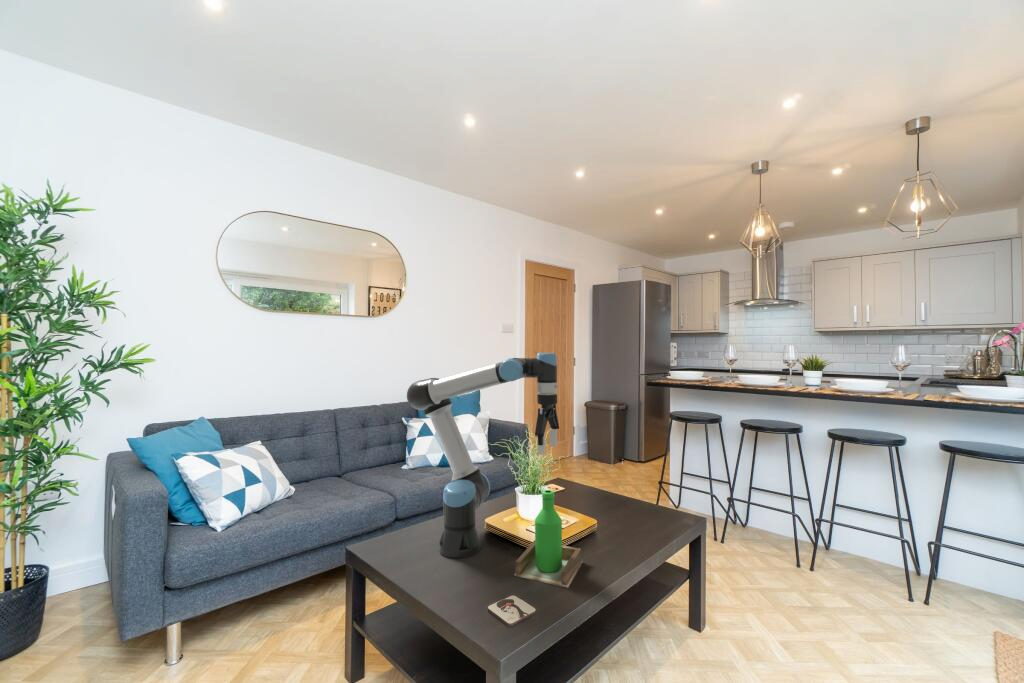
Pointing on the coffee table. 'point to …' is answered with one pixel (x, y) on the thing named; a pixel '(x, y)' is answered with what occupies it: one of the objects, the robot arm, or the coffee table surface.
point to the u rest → (560, 577)
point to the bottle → (548, 536)
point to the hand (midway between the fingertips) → (547, 449)
